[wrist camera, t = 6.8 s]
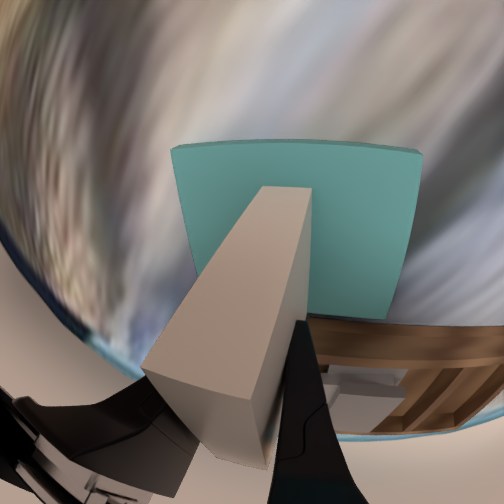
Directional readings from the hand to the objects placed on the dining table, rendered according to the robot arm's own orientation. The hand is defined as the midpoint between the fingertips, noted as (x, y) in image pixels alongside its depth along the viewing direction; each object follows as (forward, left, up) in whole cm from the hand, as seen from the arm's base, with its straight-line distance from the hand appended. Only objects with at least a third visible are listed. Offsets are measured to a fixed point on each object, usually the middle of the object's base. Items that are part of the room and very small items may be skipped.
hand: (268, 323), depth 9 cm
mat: (0, 0, -6) cm, 7 cm away
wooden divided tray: (-11, +14, -6) cm, 19 cm away
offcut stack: (-6, +14, -6) cm, 16 cm away
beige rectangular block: (0, 0, -4) cm, 4 cm away
